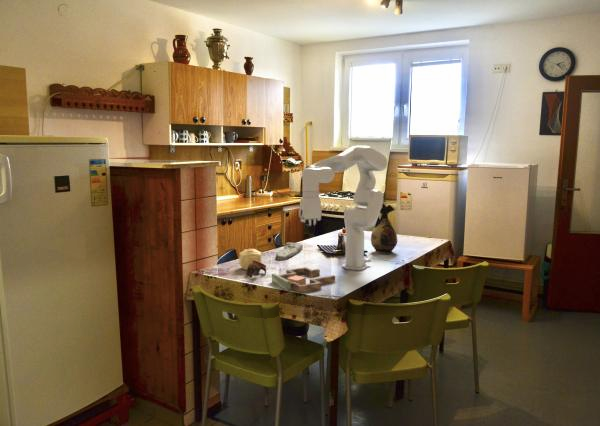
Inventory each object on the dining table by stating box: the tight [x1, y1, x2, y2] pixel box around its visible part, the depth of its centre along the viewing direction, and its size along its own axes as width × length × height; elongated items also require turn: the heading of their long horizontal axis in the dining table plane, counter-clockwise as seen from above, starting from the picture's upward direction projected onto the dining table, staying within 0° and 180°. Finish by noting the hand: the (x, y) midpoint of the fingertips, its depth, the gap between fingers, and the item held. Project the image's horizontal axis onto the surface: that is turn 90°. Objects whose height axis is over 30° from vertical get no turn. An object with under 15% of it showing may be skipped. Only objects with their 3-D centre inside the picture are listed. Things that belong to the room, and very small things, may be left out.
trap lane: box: [271, 266, 336, 294], centre depth 230 cm, size 26×27×4 cm
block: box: [287, 275, 307, 285], centre depth 224 cm, size 6×6×4 cm
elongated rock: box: [275, 241, 304, 261], centre depth 289 cm, size 35×5×10 cm
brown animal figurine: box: [245, 260, 267, 278], centre depth 242 cm, size 12×10×8 cm
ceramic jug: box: [370, 202, 398, 255], centre depth 289 cm, size 17×15×30 cm
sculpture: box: [238, 248, 263, 271], centre depth 254 cm, size 12×12×11 cm
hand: (311, 233), depth 231 cm, fingers closed
